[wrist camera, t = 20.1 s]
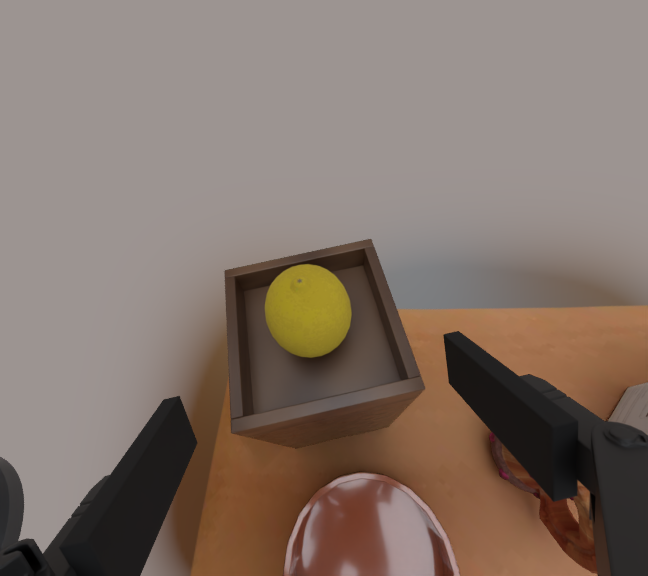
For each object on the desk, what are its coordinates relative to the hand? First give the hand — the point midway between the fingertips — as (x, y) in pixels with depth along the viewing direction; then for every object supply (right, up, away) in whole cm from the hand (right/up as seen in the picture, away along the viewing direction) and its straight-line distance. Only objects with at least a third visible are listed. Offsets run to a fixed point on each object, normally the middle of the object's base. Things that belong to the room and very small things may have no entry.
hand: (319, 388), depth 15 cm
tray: (0, +1, +9) cm, 9 cm away
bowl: (+5, -24, +17) cm, 30 cm away
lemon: (0, +1, +9) cm, 9 cm away
